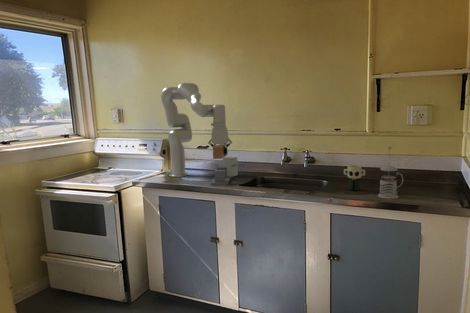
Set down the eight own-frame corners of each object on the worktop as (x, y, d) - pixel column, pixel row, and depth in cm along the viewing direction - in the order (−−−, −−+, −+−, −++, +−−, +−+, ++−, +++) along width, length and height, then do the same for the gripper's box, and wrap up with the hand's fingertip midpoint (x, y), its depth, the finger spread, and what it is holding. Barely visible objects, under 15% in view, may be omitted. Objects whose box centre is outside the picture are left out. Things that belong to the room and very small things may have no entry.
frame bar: (213, 158, 225) (212, 147, 224) (220, 154, 243) (219, 144, 242) (221, 158, 224) (221, 147, 224) (227, 154, 242) (227, 144, 241)
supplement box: (231, 177, 249) (230, 158, 247) (222, 176, 254) (222, 157, 252) (238, 175, 255) (237, 156, 253) (229, 174, 259) (228, 156, 258)
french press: (380, 193, 195) (381, 144, 192) (404, 195, 189) (406, 145, 186) (375, 197, 187) (376, 146, 184) (400, 199, 181) (402, 147, 178)
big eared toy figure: (342, 190, 203) (343, 166, 201) (344, 187, 209) (344, 164, 208) (364, 191, 199) (364, 167, 197) (365, 189, 205) (365, 165, 204)
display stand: (210, 185, 225) (210, 171, 224) (215, 178, 247) (215, 166, 246) (227, 185, 224) (227, 171, 223) (230, 178, 246) (230, 165, 245)
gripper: (204, 125, 228) (205, 155, 230) (233, 125, 227) (233, 155, 229) (206, 125, 236) (207, 154, 238) (234, 124, 234) (234, 153, 236)
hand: (220, 154), depth 233 cm, fingers closed on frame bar, 5 cm apart
